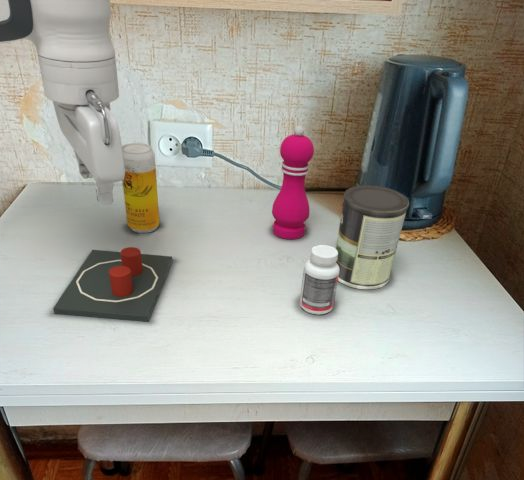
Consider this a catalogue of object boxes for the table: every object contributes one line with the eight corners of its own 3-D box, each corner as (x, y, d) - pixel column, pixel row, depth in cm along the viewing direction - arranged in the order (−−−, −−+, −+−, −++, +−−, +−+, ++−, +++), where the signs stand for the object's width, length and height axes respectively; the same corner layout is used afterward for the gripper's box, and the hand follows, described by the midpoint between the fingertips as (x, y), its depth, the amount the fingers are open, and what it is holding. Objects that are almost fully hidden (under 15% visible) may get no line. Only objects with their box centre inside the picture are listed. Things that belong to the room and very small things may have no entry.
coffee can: (321, 277, 88) (333, 199, 79) (344, 254, 95) (358, 179, 86) (377, 297, 84) (397, 217, 75) (397, 271, 91) (417, 195, 82)
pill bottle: (338, 313, 80) (348, 258, 73) (305, 317, 78) (313, 261, 72) (325, 294, 84) (334, 241, 77) (294, 298, 82) (301, 243, 76)
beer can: (121, 229, 97) (111, 149, 88) (140, 217, 101) (132, 139, 92) (147, 237, 95) (140, 156, 86) (166, 224, 100) (160, 146, 90)
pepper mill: (300, 244, 97) (313, 135, 84) (265, 235, 98) (272, 127, 86) (311, 228, 102) (325, 124, 89) (277, 221, 104) (286, 117, 91)
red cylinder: (120, 274, 83) (117, 255, 80) (126, 265, 85) (124, 245, 83) (139, 277, 82) (137, 257, 80) (145, 267, 85) (143, 248, 83)
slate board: (54, 313, 75) (52, 307, 74) (93, 254, 89) (92, 249, 88) (148, 321, 75) (147, 315, 74) (172, 261, 89) (172, 255, 88)
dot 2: (109, 296, 78) (106, 275, 75) (114, 285, 80) (111, 265, 78) (130, 297, 78) (127, 277, 76) (135, 286, 80) (132, 266, 78)
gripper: (132, 103, 57) (142, 217, 66) (86, 60, 70) (99, 161, 79) (74, 107, 54) (92, 225, 63) (37, 62, 67) (57, 165, 76)
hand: (96, 189), depth 71 cm, fingers open, 8 cm apart
